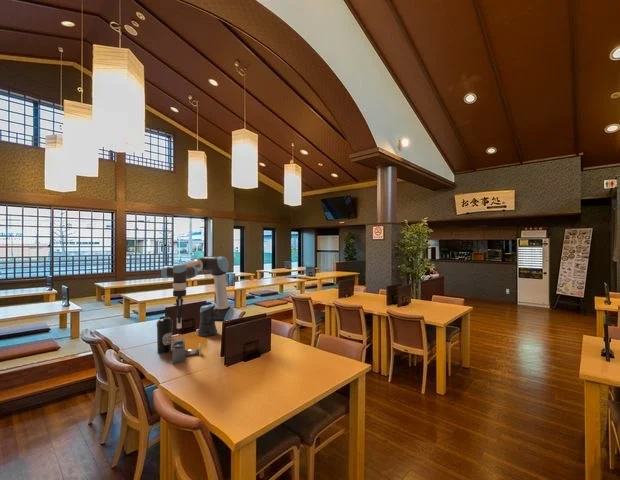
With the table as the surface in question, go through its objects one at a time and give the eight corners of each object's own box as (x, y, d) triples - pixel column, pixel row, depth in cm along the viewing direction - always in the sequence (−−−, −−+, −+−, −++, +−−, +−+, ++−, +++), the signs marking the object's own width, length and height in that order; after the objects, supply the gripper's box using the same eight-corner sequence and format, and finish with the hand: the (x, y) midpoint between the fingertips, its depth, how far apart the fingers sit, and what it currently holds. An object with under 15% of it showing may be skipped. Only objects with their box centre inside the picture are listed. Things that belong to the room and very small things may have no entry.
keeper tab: (174, 344, 191) (174, 340, 185) (182, 343, 193) (183, 339, 187) (174, 346, 190) (174, 342, 184) (182, 345, 192) (183, 341, 186)
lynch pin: (200, 352, 206) (200, 343, 206) (201, 355, 200) (201, 346, 200) (183, 354, 202) (183, 345, 202) (184, 357, 195) (184, 348, 196)
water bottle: (160, 355, 200) (161, 319, 200) (153, 351, 206) (153, 317, 206) (175, 351, 208) (176, 317, 208) (167, 347, 214) (168, 314, 214)
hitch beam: (172, 352, 205) (172, 336, 205) (183, 351, 208) (183, 335, 208) (172, 364, 185) (172, 346, 185) (184, 362, 188) (185, 345, 188)
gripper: (172, 288, 192) (172, 326, 192) (173, 291, 181) (172, 331, 180) (185, 287, 195) (185, 324, 195) (186, 290, 184) (186, 330, 183)
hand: (179, 328), depth 188 cm, fingers closed
